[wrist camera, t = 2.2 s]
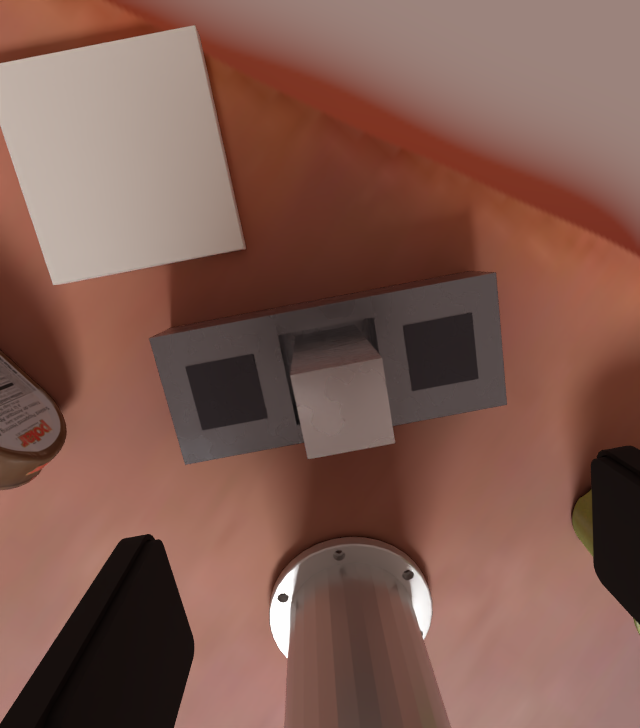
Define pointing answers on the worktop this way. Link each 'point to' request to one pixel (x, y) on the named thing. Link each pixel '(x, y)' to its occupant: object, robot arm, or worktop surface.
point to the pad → (120, 155)
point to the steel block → (340, 392)
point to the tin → (26, 426)
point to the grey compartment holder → (364, 309)
